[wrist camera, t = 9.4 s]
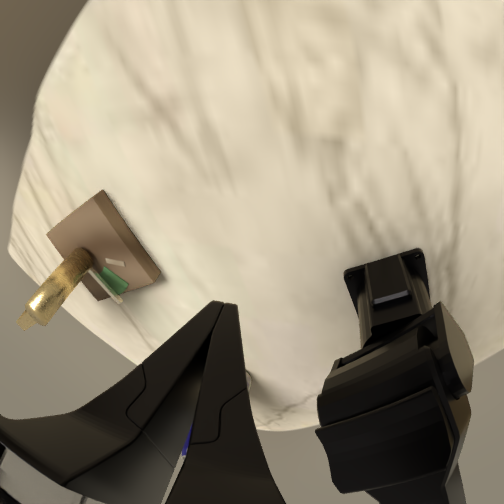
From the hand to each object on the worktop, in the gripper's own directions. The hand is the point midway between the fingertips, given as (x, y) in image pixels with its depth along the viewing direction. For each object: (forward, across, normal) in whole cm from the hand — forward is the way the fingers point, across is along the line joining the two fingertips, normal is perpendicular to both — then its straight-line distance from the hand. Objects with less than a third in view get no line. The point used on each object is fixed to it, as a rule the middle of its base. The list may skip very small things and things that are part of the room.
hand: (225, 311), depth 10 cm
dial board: (+12, +15, +8) cm, 21 cm away
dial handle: (+10, +17, +11) cm, 22 cm away
